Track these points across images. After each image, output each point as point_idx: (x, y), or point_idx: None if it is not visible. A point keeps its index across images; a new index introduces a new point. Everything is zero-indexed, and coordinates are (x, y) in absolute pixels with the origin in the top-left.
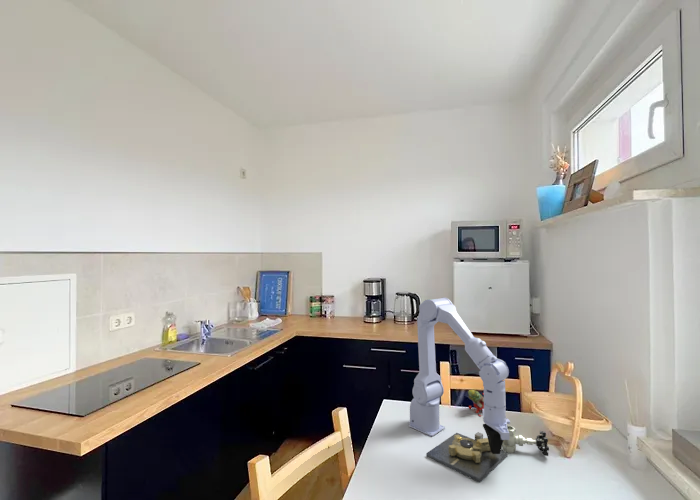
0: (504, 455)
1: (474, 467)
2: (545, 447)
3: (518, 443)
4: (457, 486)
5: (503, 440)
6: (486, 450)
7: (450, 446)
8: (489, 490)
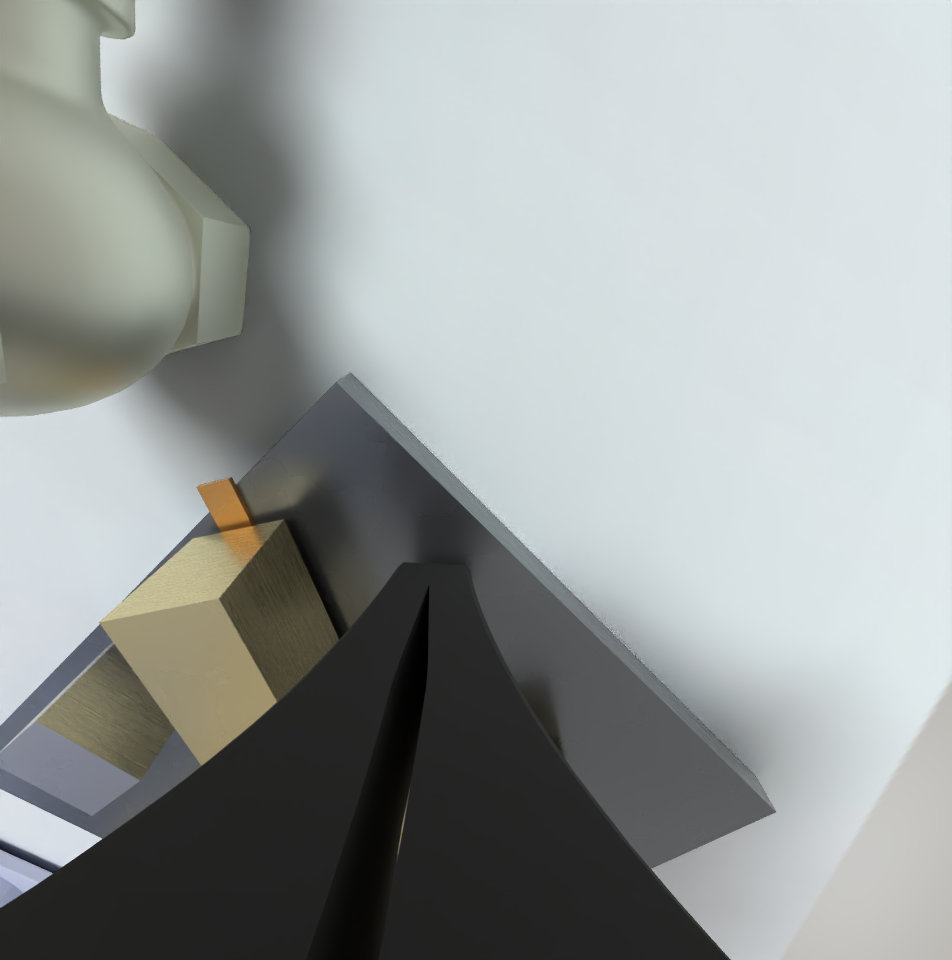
0: (411, 454)
1: (617, 800)
2: None
3: (95, 38)
4: (746, 883)
5: (559, 756)
6: (336, 642)
7: None
8: (861, 748)
